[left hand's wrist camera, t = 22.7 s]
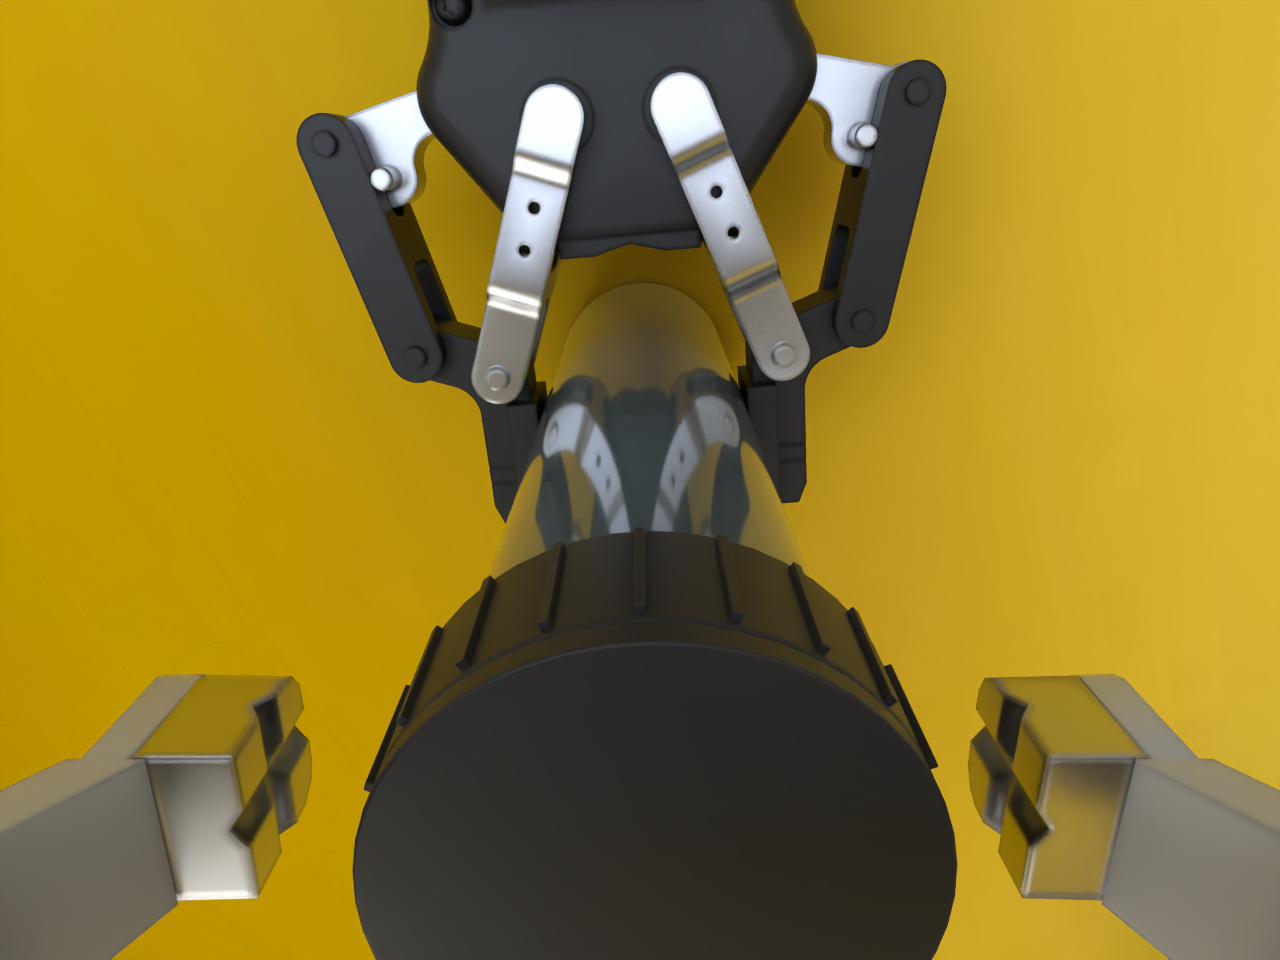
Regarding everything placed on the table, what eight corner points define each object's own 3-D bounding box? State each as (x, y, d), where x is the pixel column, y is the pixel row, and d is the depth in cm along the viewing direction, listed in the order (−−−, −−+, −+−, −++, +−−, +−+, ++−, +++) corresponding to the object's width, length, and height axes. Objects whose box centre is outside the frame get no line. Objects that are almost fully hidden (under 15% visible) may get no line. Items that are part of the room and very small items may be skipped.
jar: (697, 260, 26) (828, 571, 8) (741, 411, 28) (930, 944, 10) (541, 311, 27) (337, 709, 9) (594, 456, 29) (517, 1038, 10)
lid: (1003, 743, 11) (1093, 896, 8) (654, 997, 12) (656, 1176, 10) (650, 413, 9) (652, 500, 7) (302, 751, 11) (220, 906, 9)
